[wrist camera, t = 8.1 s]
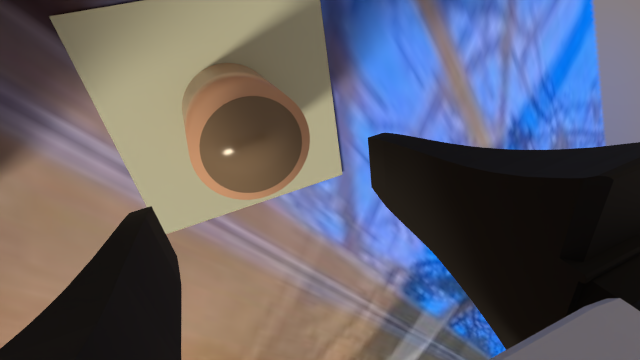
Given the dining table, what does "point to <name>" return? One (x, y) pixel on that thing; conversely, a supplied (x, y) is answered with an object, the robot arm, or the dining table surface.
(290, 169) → the terracotta pot
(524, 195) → the robot arm
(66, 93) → the dining table surface
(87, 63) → the potting mat
